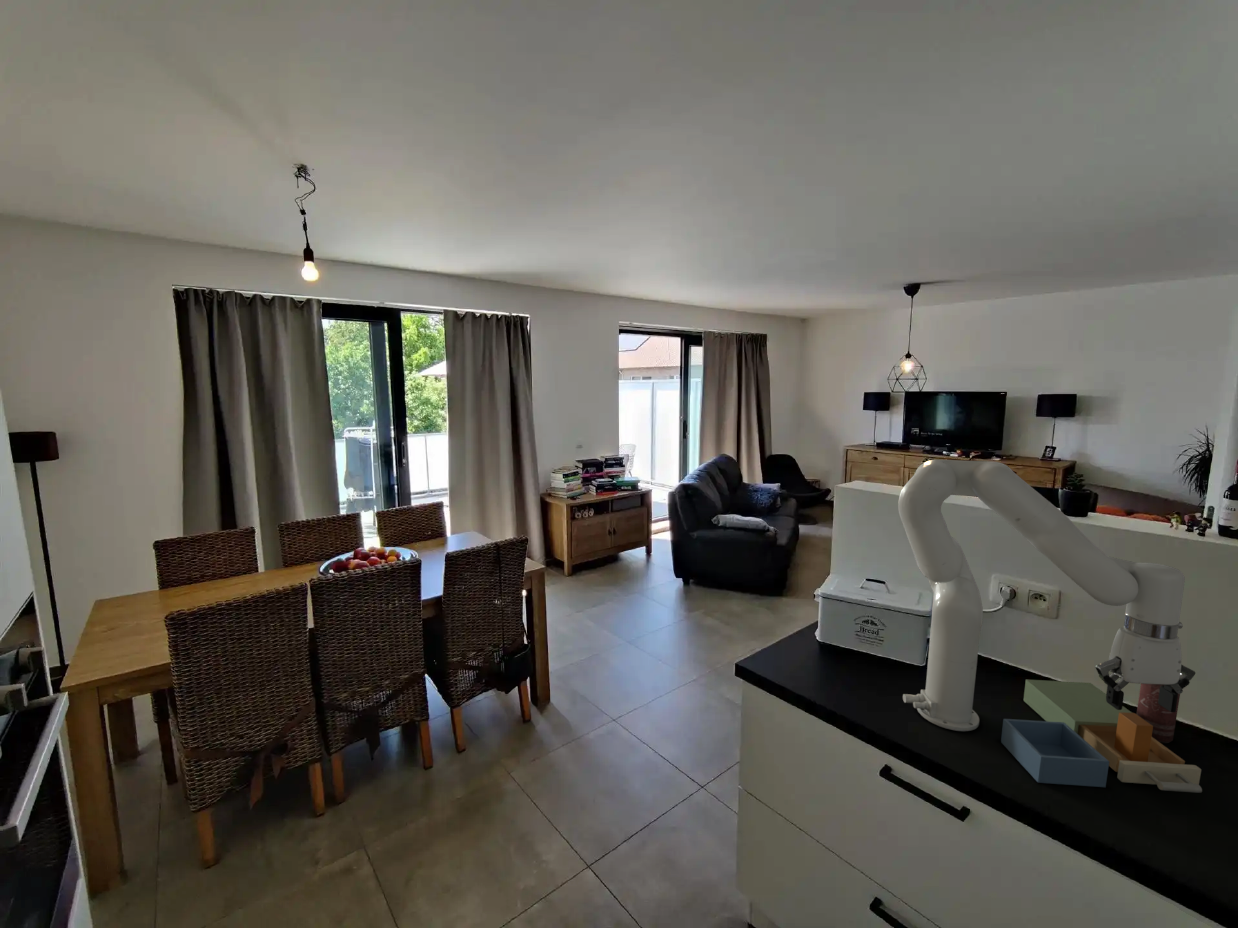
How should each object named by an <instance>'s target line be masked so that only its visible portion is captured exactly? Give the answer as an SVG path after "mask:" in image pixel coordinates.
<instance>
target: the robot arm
mask: <svg viewBox="0 0 1238 928" xmlns="http://www.w3.org/2000/svg"><path fill="white" fill-rule="evenodd" d="M951 496H959V497H961V496H962V497H977V498H978V499H979V500H980V501H981V502H982V503H983V504H984V505H985V506H987V507H988V508H989V509H990V510H991V511H993V512H994V513H995V514H997V515H998V516H999V517H1000V518H1001V519H1002V520H1003V521H1004V522H1006V523H1007V524H1008V525H1009V526H1010V527H1011V528H1013V529H1014V530H1015V531H1016V532H1017V533H1018V534H1019V535H1020V536H1021V537H1023V538H1024V539H1025V540H1026V541H1027V542H1028V543H1029V544H1030V545H1031V546H1032V547H1033V548H1035V549H1036V550H1037V551H1038V552H1040V553H1041V554H1042V555H1043V556H1045V557H1046V558H1047V559H1048V560H1049V561H1050V562H1052V564H1054V565H1055V566H1056V567H1057V568H1058V569H1059V570H1060V571H1061V572H1063V573H1064V574H1065V576H1067V577H1068V578H1069V579H1070V580H1071V581H1072V582H1074V583H1075V584H1076V585H1077V586H1079V587H1080V589H1082V590H1083V591H1084V592H1086V593H1087V594H1088V595H1089V596H1090V597H1091V598H1093V599H1094V600H1096V602H1099V603H1101V604H1104V605H1107V606H1110V607H1111V606H1112V607H1118V606H1119V607H1120V606H1125V613H1124V623H1123V627H1119V628H1118V630H1117V631H1116V634H1115V636H1114V639H1113V641H1112V644H1111V648H1110V652H1109V656H1108V660H1106V661H1105V660H1104V661H1103V662H1100V663H1098V664H1096V665H1095V669H1096V672H1097V674H1098V677H1099V678H1100V679H1101V681H1102V682H1103V683H1104V684H1105V685H1107V686H1106V693H1105V694H1106V701H1107V703H1109V704H1110V705H1111V706H1113V707H1114V708H1116V709H1117V710H1121V709H1122V706H1123V707H1124V697H1125V691H1123V689H1124V688H1125V687H1126V686H1127V685H1128V684H1137V685H1139V684H1140V685H1141V684H1164V685H1165V686H1162V685H1161V687H1160V691H1159V698H1158V704H1159V705H1161V706H1162V707H1164V708H1165V709H1167V710H1168V711H1170V712H1176V705H1177V698H1178V694H1180V695H1181V694H1182V693H1183V692H1184V691H1183V689H1185V688H1187V686H1189V685H1190V683H1191V680H1192V679H1193V678H1194V676H1195V675H1196V671H1195V670H1193V669H1191V668H1190V667H1187V666H1186V665H1184V664H1182V646H1181V639H1180V637H1179V636H1178V635H1179V634H1178V632H1179V629H1183V623H1182V622H1181V621H1180V617H1181V612H1182V611H1181V610H1182V604H1183V597H1184V590H1185V583H1186V581H1185V579H1186V578H1185V574H1184V573H1183V572H1182V571H1181V570H1180V569H1178V568H1176V567H1173V566H1170V565H1166V564H1162V563H1157V562H1156V563H1155V562H1137V561H1132V560H1127V559H1123V558H1119V557H1118V558H1117V557H1114V556H1108V555H1107V554H1106V553H1105V552H1104V551H1102V550H1101V548H1100V547H1098V546H1097V545H1096V544H1095V543H1093V542H1092V541H1091V540H1090V539H1089V538H1088V537H1087V536H1086V535H1085V534H1084V533H1083V532H1082V531H1081V530H1080V529H1079V528H1078V527H1077V526H1076V524H1075V523H1074V522H1073V521H1072V520H1071V518H1069V517H1068V516H1067V515H1066V514H1064V512H1063V511H1061V510H1060V509H1059V508H1058V507H1056V506H1055V505H1054V504H1053V503H1052V502H1051V501H1050V500H1048V499H1047V498H1045V496H1043V495H1042V494H1041V493H1040V492H1038V491H1037V490H1036V489H1035V488H1034V487H1032V486H1031V485H1030V484H1028V483H1027V482H1026V481H1025V480H1024V479H1023V478H1021V477H1020V476H1019V475H1018V474H1017V473H1015V471H1013V470H1012V468H1010V466H1008V465H1007V464H1005V463H1002V462H999V461H991V460H989V461H987V460H960V459H930V460H927V461H924V462H923V463H921V464H920V465H919V466H917V469H916V470H915V472H914V475H912V477H911V478H910V479H909V480H908V481H907V482H906V483H905V485H904V486H903V487H902V489H901V491H900V493H899V497H898V503H897V509H898V514H899V518H900V521H901V523H902V527H903V529H904V531H905V534H906V538H907V540H908V542H909V543H908V544H909V545H910V548H911V551H912V553H913V556H914V559H915V562H916V565H917V568H918V569H919V571H920V573H921V574H922V575H923V576H924V577H925V578H926V579H927V580H928V583H929V585H930V588H931V591H932V593H933V595H932V608H931V621H930V624H931V625H930V633H929V642H928V644H929V645H928V655H927V658H928V659H927V667H926V668H927V669H926V680H925V689H920V693H917V694H908V693H903V694H902V700H903V703H904V704H912V707H913V708H914V709H916V710H917V713H919V714H920V716H921V717H922V718H924V719H925V720H927V721H928V722H929V723H931V724H933V725H935V726H938V727H940V728H943V729H946V730H951V731H956V732H970V731H971V732H972V731H975V730H976V729H977V728H978V727H979V726H980V716H979V715H978V713H977V712H976V711H975V710H974V709H973V708H974V707H973V706H974V695H975V686H976V677H977V676H976V675H977V668H978V667H977V666H978V658H979V657H978V655H979V646H980V637H981V633H982V627H983V621H984V609H983V607H984V606H983V603H982V598H981V593H980V590H979V586H978V585H977V581H976V579H975V577H974V574H973V572H972V570H971V568H970V565H969V562H968V560H967V558H966V556H965V553H964V551H963V548H962V546H961V544H960V543H959V541H958V540H957V539H956V538H955V537H953V536H951V533H950V531H949V528H948V526H947V523H946V520H945V517H944V515H943V513H942V505H943V503H944V502H945V501H946V500H947V499H948V498H949V497H951ZM1109 672H1110V673H1111V674H1110V673H1109ZM1118 679H1119V680H1118ZM1117 680H1118V681H1117Z"/></svg>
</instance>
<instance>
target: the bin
mask: <svg viewBox="0 0 1238 928" xmlns="http://www.w3.org/2000/svg"><path fill="white" fill-rule="evenodd" d="M1000 736H1001V738H1000V743H1001V744H1002V745H1003V747H1005V749H1007V751H1008V752H1009V753H1010V754H1011V755H1012V756H1013V757H1014V758H1015V759H1016V760H1017V762H1018V763H1019V764H1020V765H1021V766H1022V767H1023V768H1024V769H1025V770H1026V771H1027V773H1029V774H1030V776H1031V777H1032V778H1033V779H1034V780H1035V781H1036V782H1037V783H1040V784H1053V785H1065V786H1066V785H1068V786H1079V787H1080V786H1081V787H1096V788H1106V787H1107V780H1108V774H1109V768H1110V766H1109V761H1108V760H1107V759H1106V758H1105V757H1103V756H1102V755H1101V754H1100V753H1099V752H1098V751H1097V750H1095V749H1094V748H1093V747H1092V746H1091V745H1090V744H1088V743H1087V742H1086V741H1085V740H1084V739H1083V738H1082V737H1080V736H1079V735H1078V734H1077V733H1076V732H1075V731H1073V730H1072V729H1071V728H1070V727H1069V726H1068V725H1067V724H1065V723H1064V722H1048V721H1046V720H1029V719H1012V718H1003V720H1002V728H1001V735H1000Z"/></svg>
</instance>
